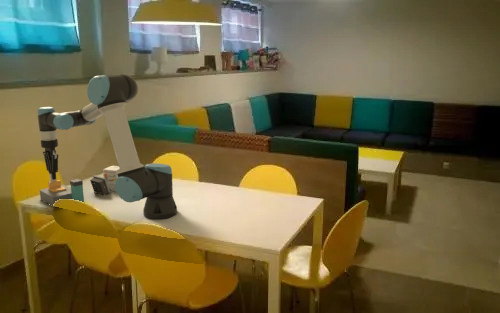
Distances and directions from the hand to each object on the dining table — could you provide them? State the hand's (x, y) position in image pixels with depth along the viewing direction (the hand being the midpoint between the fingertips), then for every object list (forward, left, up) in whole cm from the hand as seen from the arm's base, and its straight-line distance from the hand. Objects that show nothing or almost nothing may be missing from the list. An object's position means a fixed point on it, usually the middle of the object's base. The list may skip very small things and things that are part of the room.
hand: (53, 185), depth 216 cm
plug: (-17, -4, -7) cm, 19 cm away
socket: (-5, 0, -7) cm, 9 cm away
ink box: (-7, -29, -7) cm, 31 cm away
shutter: (-4, 0, -2) cm, 4 cm away
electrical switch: (-9, -20, -7) cm, 23 cm away
